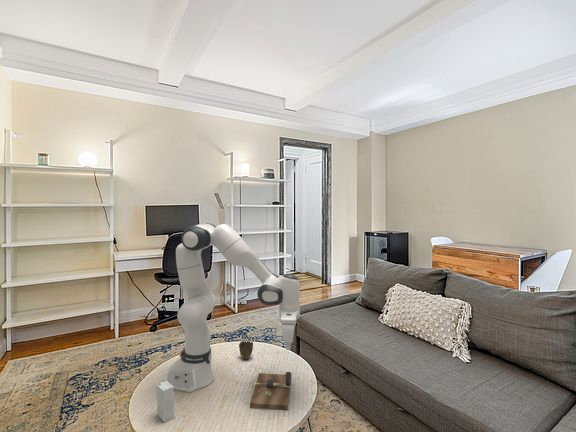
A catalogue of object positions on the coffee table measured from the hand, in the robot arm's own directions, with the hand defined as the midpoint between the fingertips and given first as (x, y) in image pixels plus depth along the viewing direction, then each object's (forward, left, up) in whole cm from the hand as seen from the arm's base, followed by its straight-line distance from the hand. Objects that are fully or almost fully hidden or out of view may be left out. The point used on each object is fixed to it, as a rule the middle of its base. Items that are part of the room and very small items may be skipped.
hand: (289, 344), depth 134 cm
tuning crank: (-7, 0, -19) cm, 20 cm away
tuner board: (-7, -1, -21) cm, 22 cm away
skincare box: (-46, -20, -21) cm, 54 cm away
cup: (-24, +27, -21) cm, 42 cm away
